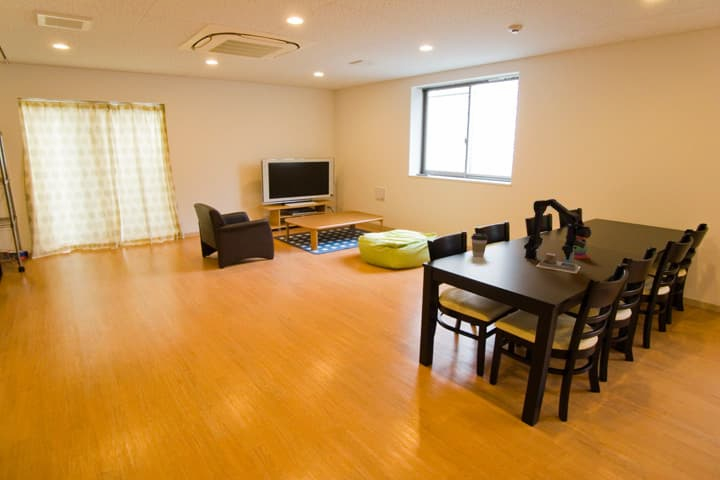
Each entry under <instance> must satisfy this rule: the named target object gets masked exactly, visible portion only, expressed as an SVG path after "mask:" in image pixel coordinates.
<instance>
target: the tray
mask: <svg viewBox="0 0 720 480" xmlns="http://www.w3.org/2000/svg"><path fill="white" fill-rule="evenodd" d="M536 267H538V268H541V269H542V268H543V269H546V270H547V269H548V270H554V271H559V272H564V273H565V272H566V273H571V274H577V273H578V272H579V271H580V270H581V266H579V264H576V263H568V262H564V261H563V262H562V261H558V260H555V265H554V264H548V263H545V258H543V259H542V260H541V261H540V262H539V263H538V264H536Z"/></svg>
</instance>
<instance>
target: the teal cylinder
mask: <svg viewBox="0 0 720 480" xmlns="http://www.w3.org/2000/svg"><path fill="white" fill-rule="evenodd" d="M574 259H575V258H574V251H573V252H572V253H571V255H570V258H569V260H567V259H566V257H565V256H564V259H563V262H565V263H571V264H573V263H574Z"/></svg>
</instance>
